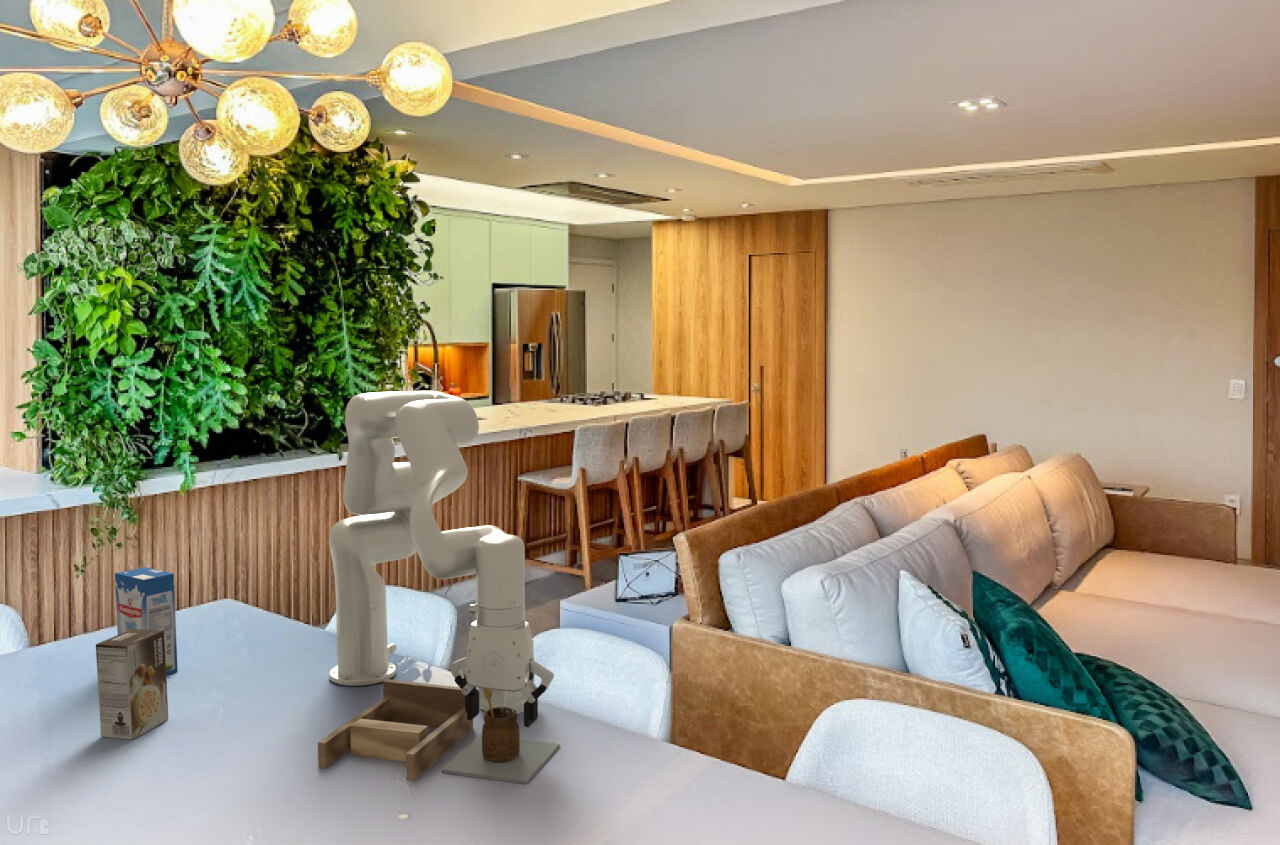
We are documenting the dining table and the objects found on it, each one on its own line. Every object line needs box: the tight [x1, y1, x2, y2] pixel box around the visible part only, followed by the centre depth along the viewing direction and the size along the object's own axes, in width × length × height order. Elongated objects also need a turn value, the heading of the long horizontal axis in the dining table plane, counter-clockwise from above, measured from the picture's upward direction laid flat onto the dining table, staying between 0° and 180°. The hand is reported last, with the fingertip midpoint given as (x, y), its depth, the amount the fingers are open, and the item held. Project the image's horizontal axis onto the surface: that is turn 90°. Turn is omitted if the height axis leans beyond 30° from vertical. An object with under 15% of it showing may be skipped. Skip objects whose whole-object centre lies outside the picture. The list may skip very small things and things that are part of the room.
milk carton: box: [114, 566, 179, 677], centre depth 196 cm, size 10×6×20 cm, turn 58°
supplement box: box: [478, 639, 535, 715], centre depth 177 cm, size 7×7×13 cm
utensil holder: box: [481, 688, 521, 762], centre depth 156 cm, size 6×6×12 cm
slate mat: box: [441, 733, 561, 785], centre depth 157 cm, size 14×14×1 cm
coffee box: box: [95, 629, 169, 741], centre depth 168 cm, size 9×6×16 cm
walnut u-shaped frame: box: [317, 678, 474, 781], centre depth 161 cm, size 21×16×7 cm
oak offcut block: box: [350, 719, 429, 762], centre depth 158 cm, size 3×12×5 cm, turn 75°
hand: (501, 720), depth 156 cm, fingers open, 9 cm apart
